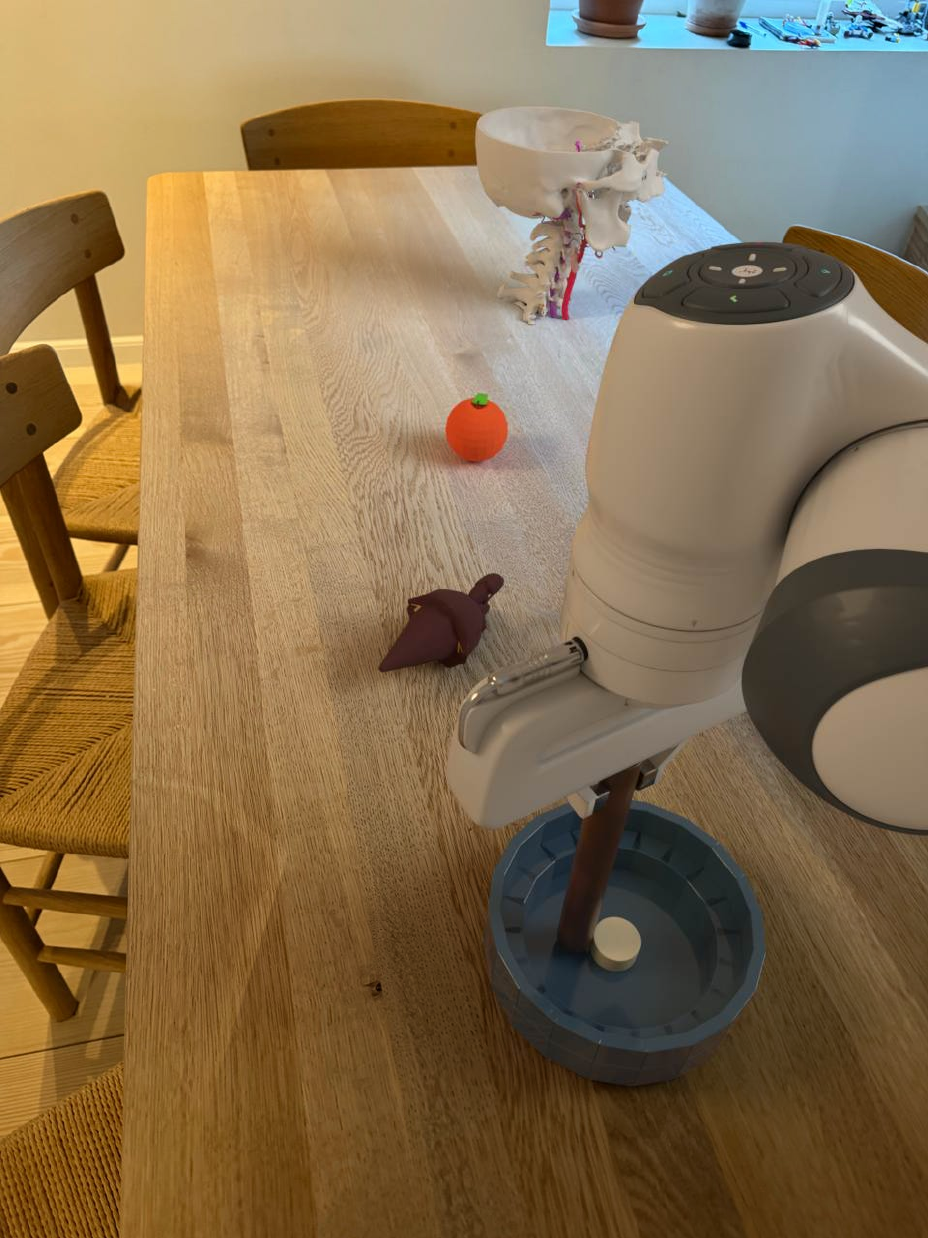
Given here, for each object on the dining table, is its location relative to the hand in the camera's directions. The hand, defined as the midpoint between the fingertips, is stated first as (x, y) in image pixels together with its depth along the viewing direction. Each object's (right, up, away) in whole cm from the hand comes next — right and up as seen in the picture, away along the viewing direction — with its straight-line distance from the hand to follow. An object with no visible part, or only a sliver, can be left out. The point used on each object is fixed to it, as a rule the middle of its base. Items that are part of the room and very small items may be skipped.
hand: (613, 791), depth 53 cm
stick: (-1, -12, +11) cm, 17 cm away
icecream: (-10, +6, +32) cm, 35 cm away
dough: (+2, -13, +12) cm, 18 cm away
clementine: (-7, +28, +55) cm, 63 cm away
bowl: (+2, -14, +13) cm, 19 cm away
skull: (+5, +55, +84) cm, 100 cm away
